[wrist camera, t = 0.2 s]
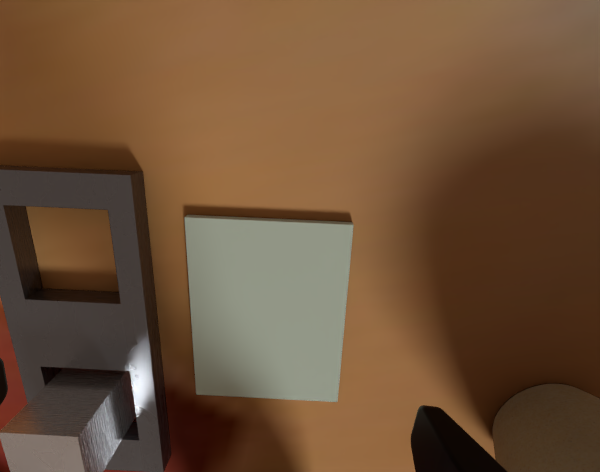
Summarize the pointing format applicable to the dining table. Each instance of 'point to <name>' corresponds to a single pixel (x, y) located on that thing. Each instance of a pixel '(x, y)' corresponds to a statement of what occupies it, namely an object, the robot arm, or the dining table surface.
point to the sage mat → (268, 305)
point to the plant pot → (548, 431)
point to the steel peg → (71, 423)
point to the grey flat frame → (87, 300)
